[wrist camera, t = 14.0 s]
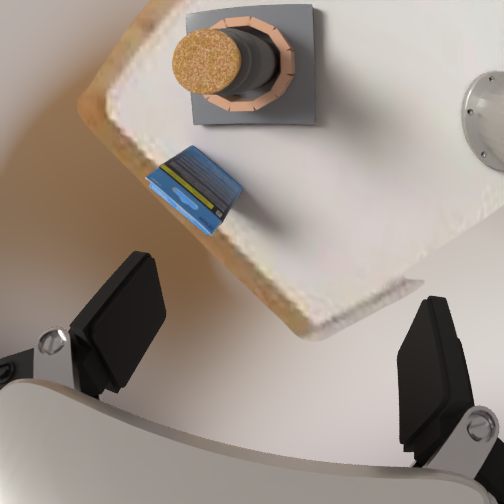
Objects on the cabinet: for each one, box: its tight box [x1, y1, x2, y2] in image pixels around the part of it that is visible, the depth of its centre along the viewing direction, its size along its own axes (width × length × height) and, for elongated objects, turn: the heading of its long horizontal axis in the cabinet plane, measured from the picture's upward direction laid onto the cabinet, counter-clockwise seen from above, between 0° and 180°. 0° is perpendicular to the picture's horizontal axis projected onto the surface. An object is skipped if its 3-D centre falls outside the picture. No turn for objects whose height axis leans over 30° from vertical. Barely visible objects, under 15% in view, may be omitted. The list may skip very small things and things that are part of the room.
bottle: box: [172, 28, 280, 96], centre depth 24 cm, size 6×6×15 cm
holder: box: [186, 4, 315, 125], centre depth 29 cm, size 14×14×6 cm
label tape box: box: [146, 146, 243, 236], centre depth 35 cm, size 9×4×12 cm, turn 50°
